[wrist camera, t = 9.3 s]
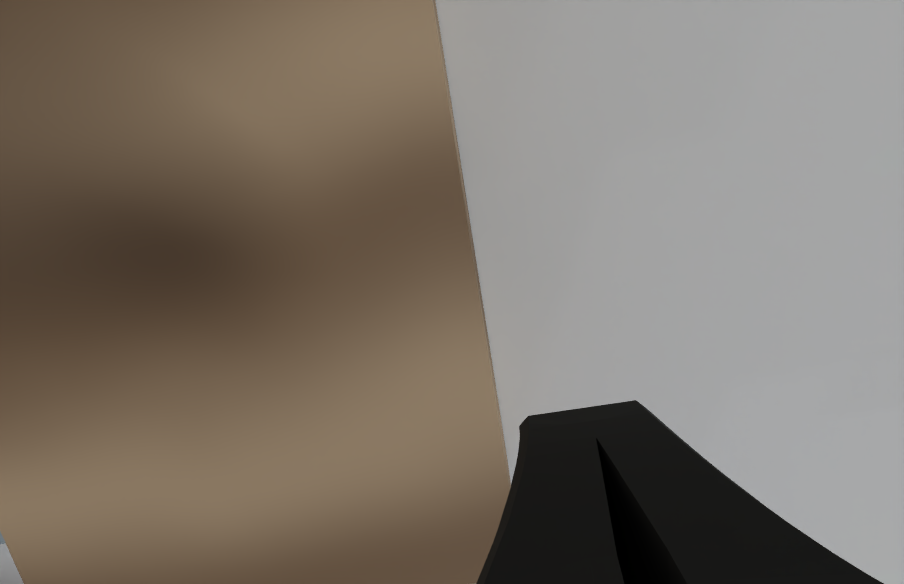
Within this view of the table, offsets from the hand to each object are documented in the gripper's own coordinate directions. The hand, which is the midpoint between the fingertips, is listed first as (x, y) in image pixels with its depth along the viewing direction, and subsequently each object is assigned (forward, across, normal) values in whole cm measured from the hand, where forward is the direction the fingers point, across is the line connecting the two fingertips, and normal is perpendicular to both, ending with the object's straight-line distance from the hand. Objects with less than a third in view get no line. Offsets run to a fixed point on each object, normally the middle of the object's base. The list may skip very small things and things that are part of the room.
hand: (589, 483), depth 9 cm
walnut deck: (+9, +6, -1) cm, 11 cm away
